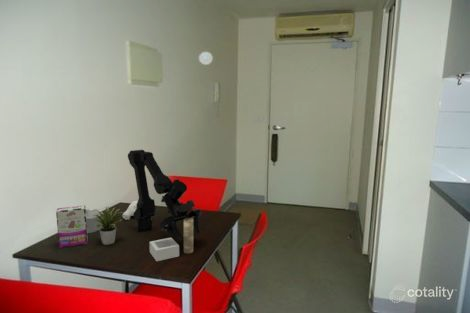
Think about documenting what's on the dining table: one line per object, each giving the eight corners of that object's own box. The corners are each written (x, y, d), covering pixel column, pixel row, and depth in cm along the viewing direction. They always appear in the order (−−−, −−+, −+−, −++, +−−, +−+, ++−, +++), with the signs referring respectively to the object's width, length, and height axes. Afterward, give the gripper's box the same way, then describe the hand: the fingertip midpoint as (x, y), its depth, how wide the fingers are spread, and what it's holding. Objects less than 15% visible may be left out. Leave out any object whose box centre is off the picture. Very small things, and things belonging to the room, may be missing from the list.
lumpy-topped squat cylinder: (89, 233, 150) (88, 216, 149) (71, 228, 156) (70, 211, 155) (107, 226, 159) (106, 210, 158) (89, 222, 165) (88, 206, 164)
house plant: (108, 252, 131) (106, 214, 129) (82, 247, 136) (80, 210, 133) (131, 239, 144) (130, 205, 142) (106, 235, 149) (105, 201, 147)
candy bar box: (87, 240, 143) (86, 204, 141) (87, 244, 139) (85, 208, 136) (59, 243, 139) (57, 207, 136) (58, 248, 134) (55, 211, 132)
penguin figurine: (143, 200, 175) (126, 208, 165) (144, 214, 177) (128, 223, 167) (135, 198, 178) (118, 206, 168) (136, 212, 180) (119, 221, 170)
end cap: (149, 252, 132) (149, 241, 132) (171, 247, 137) (171, 237, 136) (156, 261, 124) (156, 250, 124) (179, 256, 129) (179, 245, 128)
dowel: (184, 253, 131) (184, 221, 129) (183, 249, 135) (182, 218, 133) (194, 252, 132) (194, 220, 130) (192, 248, 136) (192, 217, 134)
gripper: (163, 199, 126) (180, 233, 121) (198, 190, 140) (216, 221, 134) (152, 213, 133) (168, 246, 127) (187, 204, 146) (203, 233, 141)
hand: (190, 236), depth 132 cm, fingers open, 9 cm apart
